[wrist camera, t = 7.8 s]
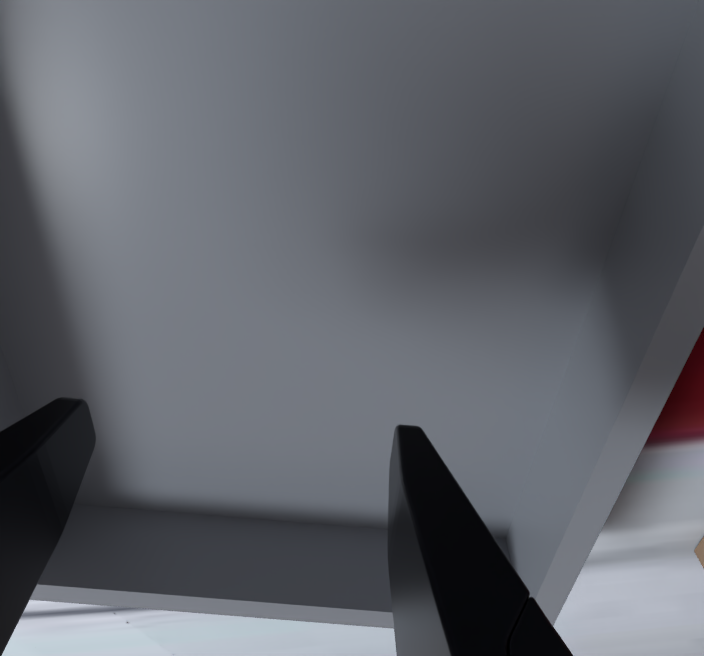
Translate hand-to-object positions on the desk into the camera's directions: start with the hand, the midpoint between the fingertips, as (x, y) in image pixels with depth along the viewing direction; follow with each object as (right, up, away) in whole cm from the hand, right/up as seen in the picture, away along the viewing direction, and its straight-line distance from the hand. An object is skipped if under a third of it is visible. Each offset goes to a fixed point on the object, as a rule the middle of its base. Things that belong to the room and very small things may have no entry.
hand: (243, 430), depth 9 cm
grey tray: (0, +3, +4) cm, 5 cm away
